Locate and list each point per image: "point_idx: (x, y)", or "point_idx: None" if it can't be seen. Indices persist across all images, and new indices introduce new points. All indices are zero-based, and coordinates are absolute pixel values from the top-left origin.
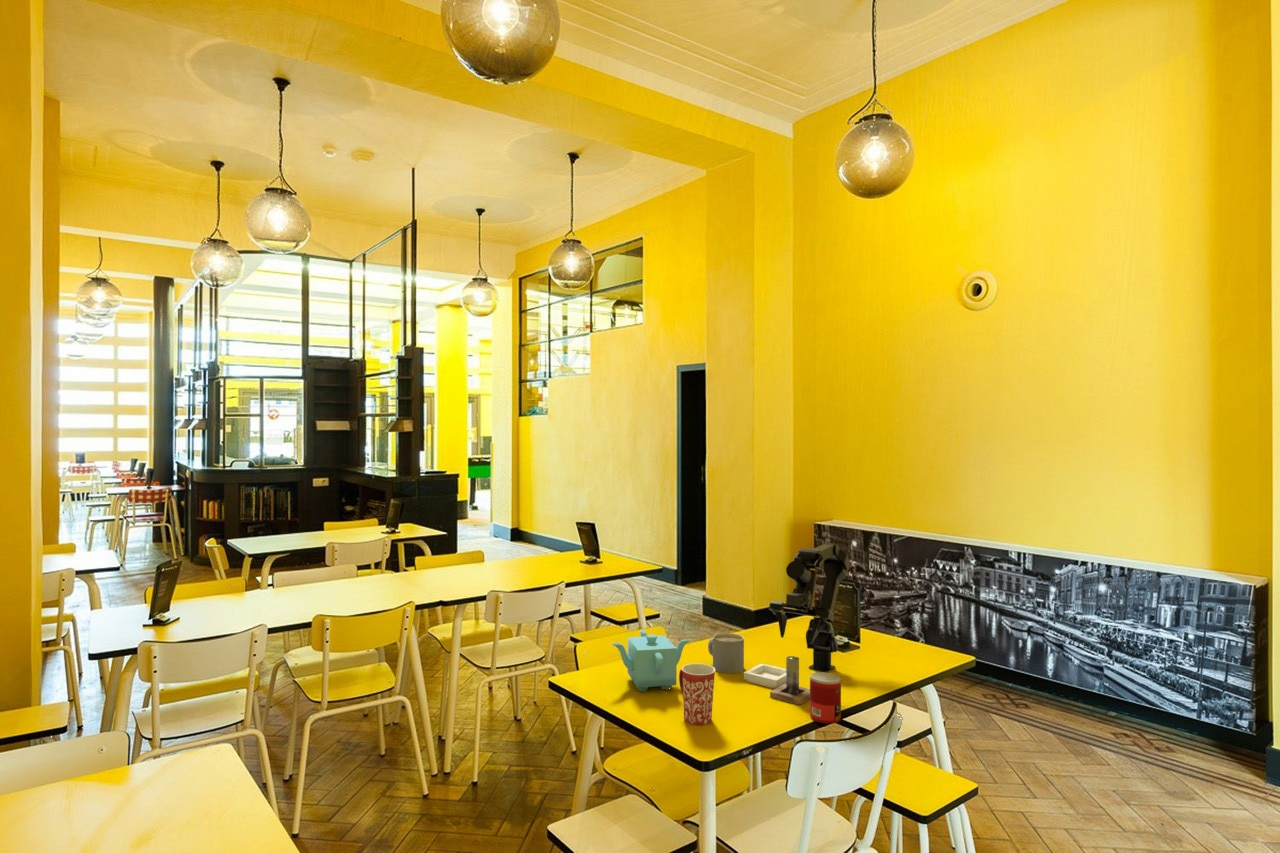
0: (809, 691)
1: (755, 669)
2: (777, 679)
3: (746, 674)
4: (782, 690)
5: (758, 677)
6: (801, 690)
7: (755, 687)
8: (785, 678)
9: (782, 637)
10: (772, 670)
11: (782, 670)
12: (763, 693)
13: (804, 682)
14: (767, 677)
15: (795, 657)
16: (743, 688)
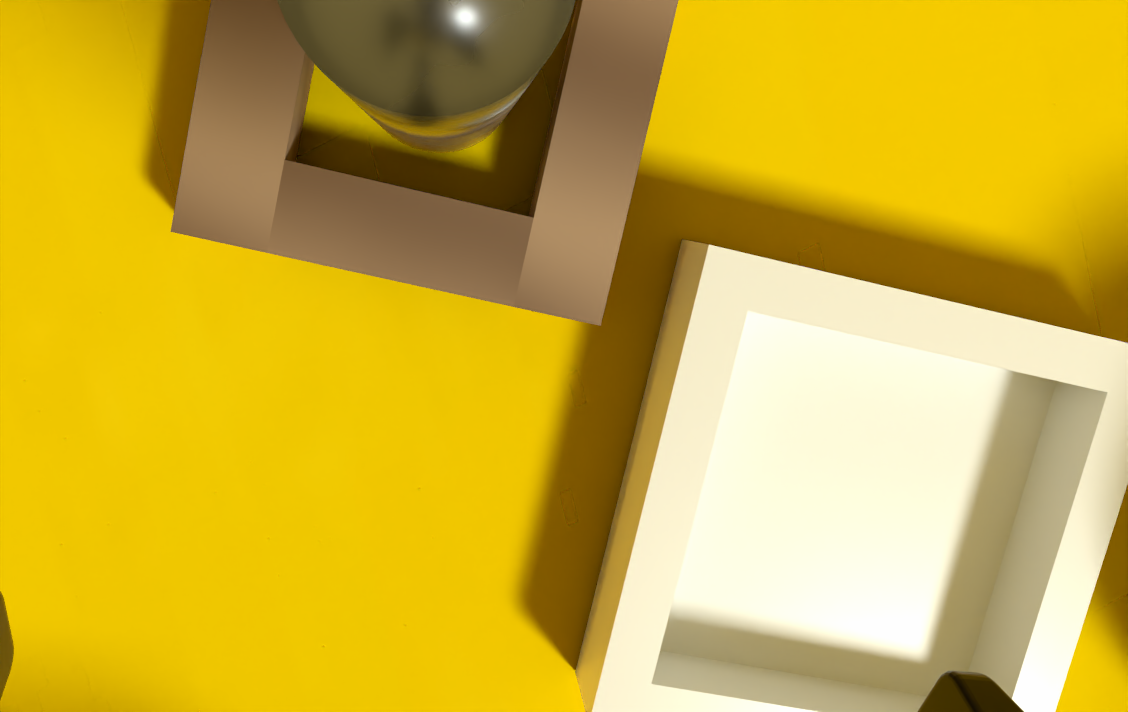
0: (225, 154)
1: (1053, 551)
2: (707, 291)
3: (1119, 341)
4: (570, 48)
5: (957, 303)
6: (343, 175)
7: (924, 174)
8: (637, 484)
9: (927, 698)
10: (855, 701)
11: (731, 692)
12: (790, 10)
13: (429, 626)
14: (846, 306)
15: (376, 35)
16: (1046, 72)
